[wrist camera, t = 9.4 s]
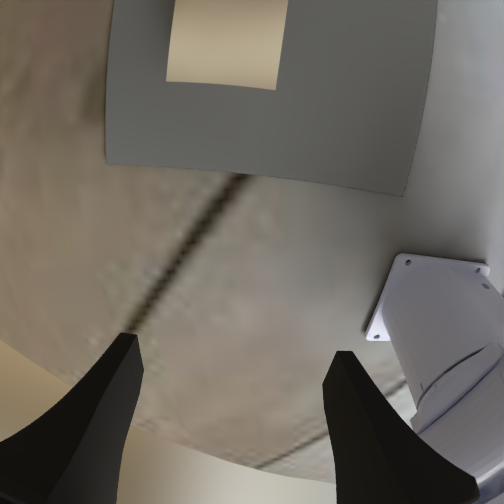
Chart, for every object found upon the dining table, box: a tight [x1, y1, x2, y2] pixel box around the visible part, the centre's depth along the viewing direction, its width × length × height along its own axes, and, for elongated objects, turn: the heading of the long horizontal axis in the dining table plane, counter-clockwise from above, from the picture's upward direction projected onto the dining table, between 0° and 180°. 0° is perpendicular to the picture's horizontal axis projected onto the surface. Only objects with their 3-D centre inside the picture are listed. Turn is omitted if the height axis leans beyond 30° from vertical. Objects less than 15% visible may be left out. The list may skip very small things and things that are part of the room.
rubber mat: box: [105, 0, 437, 197], centre depth 14 cm, size 18×16×1 cm
